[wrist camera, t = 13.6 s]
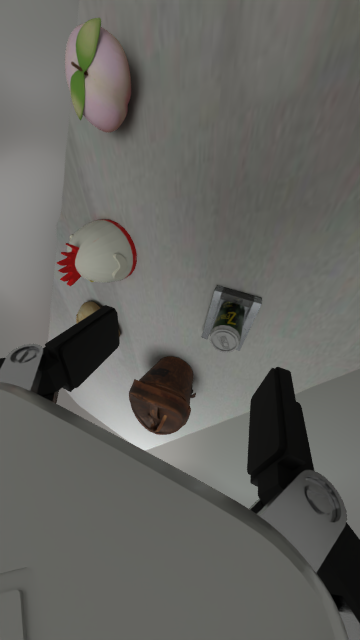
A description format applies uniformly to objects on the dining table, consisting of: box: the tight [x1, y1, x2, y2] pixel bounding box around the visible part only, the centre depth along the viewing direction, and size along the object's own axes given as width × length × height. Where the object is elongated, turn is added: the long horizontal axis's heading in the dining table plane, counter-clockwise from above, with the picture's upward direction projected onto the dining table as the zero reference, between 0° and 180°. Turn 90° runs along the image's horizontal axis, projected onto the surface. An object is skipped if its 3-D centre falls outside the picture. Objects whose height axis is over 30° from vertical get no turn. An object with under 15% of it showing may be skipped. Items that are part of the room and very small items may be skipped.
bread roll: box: [76, 301, 120, 337], centre depth 56 cm, size 10×15×8 cm, turn 43°
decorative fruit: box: [65, 18, 131, 132], centre depth 25 cm, size 9×8×10 cm
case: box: [129, 356, 196, 435], centre depth 53 cm, size 18×20×18 cm
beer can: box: [210, 301, 245, 352], centre depth 36 cm, size 5×5×12 cm
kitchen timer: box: [57, 220, 137, 286], centre depth 39 cm, size 14×14×15 cm
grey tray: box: [202, 285, 262, 351], centre depth 41 cm, size 13×10×3 cm
